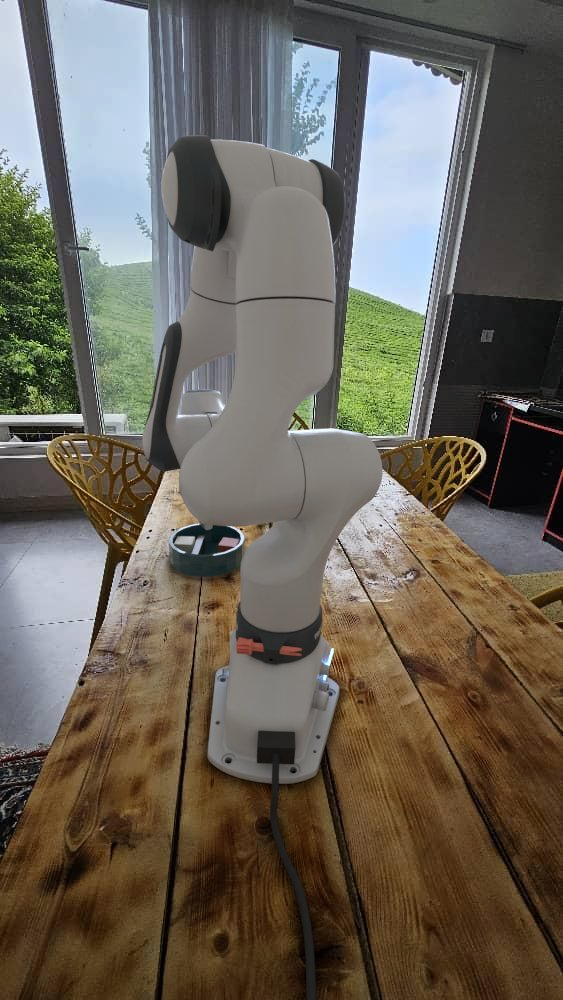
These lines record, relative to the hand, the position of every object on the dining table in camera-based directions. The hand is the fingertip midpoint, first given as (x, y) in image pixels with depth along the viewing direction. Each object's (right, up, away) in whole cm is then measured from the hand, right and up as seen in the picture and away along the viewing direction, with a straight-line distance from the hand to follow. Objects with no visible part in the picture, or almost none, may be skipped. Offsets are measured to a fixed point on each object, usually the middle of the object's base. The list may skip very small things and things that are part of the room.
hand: (206, 527), depth 98 cm
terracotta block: (+5, -7, +4) cm, 9 cm away
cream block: (-5, -7, +4) cm, 9 cm away
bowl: (0, -8, +3) cm, 8 cm away
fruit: (+12, -1, +23) cm, 26 cm away
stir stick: (-2, -7, +3) cm, 8 cm away
